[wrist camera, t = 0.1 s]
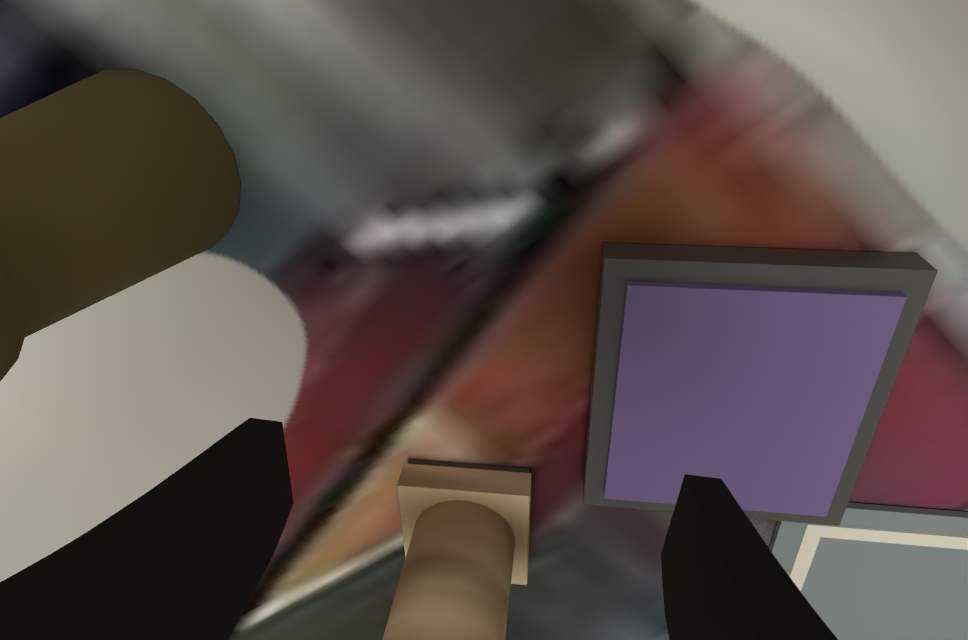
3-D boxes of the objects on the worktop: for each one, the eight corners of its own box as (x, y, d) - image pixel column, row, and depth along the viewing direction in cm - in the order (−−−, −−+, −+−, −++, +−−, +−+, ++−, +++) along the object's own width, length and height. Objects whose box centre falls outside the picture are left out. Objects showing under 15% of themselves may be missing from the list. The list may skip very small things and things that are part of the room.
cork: (150, 28, 18) (-344, 101, 8) (278, 210, 20) (9, 432, 10) (19, 126, 20) (-499, 276, 10) (149, 281, 22) (-174, 520, 12)
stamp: (529, 552, 27) (517, 712, 21) (415, 542, 27) (374, 694, 21) (531, 465, 24) (518, 620, 18) (406, 456, 25) (356, 603, 19)
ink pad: (827, 500, 23) (842, 532, 22) (583, 481, 24) (583, 510, 23) (916, 253, 18) (943, 275, 17) (603, 242, 19) (605, 262, 18)
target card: (1005, 713, 28) (1010, 722, 27) (727, 681, 29) (729, 690, 29) (1142, 525, 22) (1152, 534, 21) (785, 497, 23) (788, 505, 23)
